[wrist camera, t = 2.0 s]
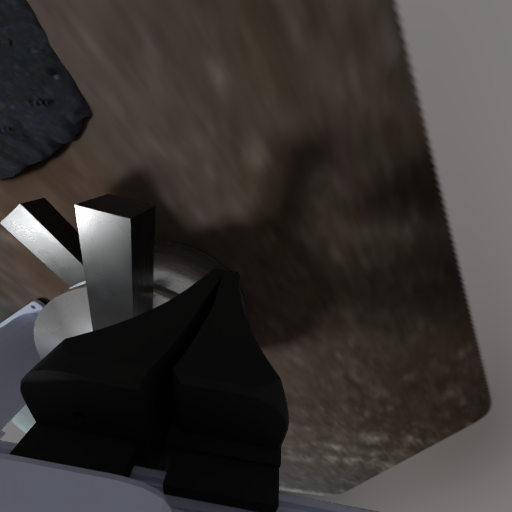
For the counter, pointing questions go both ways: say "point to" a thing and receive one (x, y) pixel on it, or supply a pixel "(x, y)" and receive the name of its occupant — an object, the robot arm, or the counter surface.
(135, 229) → the lid
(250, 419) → the robot arm
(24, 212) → the pot
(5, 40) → the dark slate chunk
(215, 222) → the counter surface
